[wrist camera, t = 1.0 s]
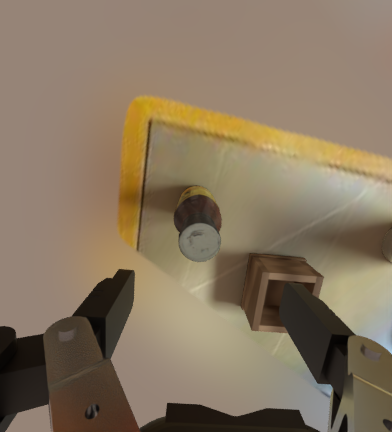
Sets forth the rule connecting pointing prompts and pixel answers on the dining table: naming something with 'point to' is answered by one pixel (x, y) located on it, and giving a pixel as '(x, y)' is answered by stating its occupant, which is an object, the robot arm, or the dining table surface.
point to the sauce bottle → (198, 224)
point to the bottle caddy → (274, 288)
